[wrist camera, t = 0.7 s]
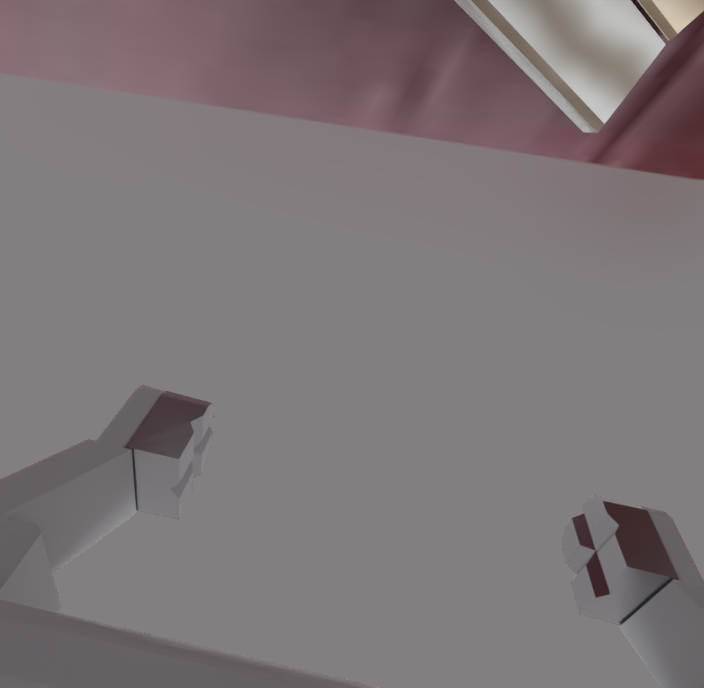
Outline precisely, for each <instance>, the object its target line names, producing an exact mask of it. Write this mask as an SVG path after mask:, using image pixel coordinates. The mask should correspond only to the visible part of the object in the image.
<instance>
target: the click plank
mask: <svg viewBox="0 0 704 688" xmlns="http://www.w3.org/2000/svg"><path fill="white" fill-rule="evenodd" d="M454 1H455V2H456V3H457V4H458V5H459V6H460V7H461V8H462V9H463V10H464V11H465V12H466V13H467V14H468V15H469V16H470V17H471V18H472V19H473V20H474V21H475V22H476V23H477V24H478V25H479V26H480V27H481V28H482V29H483V30H484V31H485V32H486V33H487V34H488V35H489V37H490V38H491V39H492V40H493V41H494V42H495V43H496V44H497V45H498V46H499V47H500V48H501V49H502V50H503V51H504V52H505V53H506V54H507V55H508V56H509V57H510V58H511V59H512V60H513V61H514V62H515V63H516V64H517V65H518V66H519V67H520V68H521V69H522V70H523V71H524V72H525V73H526V74H527V75H528V76H529V77H530V78H531V79H532V80H533V81H534V82H535V84H536V85H537V86H538V87H539V88H540V89H541V90H542V91H543V92H544V93H545V94H546V95H547V96H548V97H549V98H550V99H551V100H552V101H553V102H554V103H555V104H556V105H557V106H558V107H559V108H560V109H561V110H562V111H563V112H564V113H565V114H566V115H567V116H568V117H569V118H570V119H571V120H572V121H573V122H574V123H575V124H576V125H577V126H578V127H579V128H580V130H581V131H582V132H594V133H598V132H599V131H600V130H601V128H602V127H603V126H604V124H605V123H606V122H607V120H608V119H609V118H610V116H611V115H612V114H613V112H614V111H615V110H616V109H617V107H618V106H619V105H620V103H621V102H622V101H623V100H624V98H625V97H626V96H627V94H628V93H629V92H630V90H631V89H632V88H633V87H634V85H635V84H636V83H637V81H638V80H639V79H640V77H641V76H642V75H643V74H644V72H645V71H646V70H647V68H648V67H649V66H650V64H651V63H652V62H653V61H654V59H655V58H656V57H657V55H658V54H659V53H660V51H661V50H662V49H663V48H664V46H665V45H666V44H665V43H664V42H663V41H662V39H661V38H660V37H659V35H658V34H657V33H656V32H655V30H654V29H653V28H652V27H651V25H650V24H649V23H648V21H647V20H646V19H645V18H644V16H643V15H642V14H641V13H640V11H639V10H638V9H637V8H636V6H635V5H634V4H633V2H632V1H631V0H454Z"/></svg>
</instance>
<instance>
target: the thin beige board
mask: <svg viewBox="0 0 704 688" xmlns="http://www.w3.org/2000/svg"><path fill="white" fill-rule="evenodd" d="M636 1H637V2H638V4H639V5H640V6H641V7H642V9H643V10H644V11H645V13H646V14H647V15H648V16H649V18H650V19H651V20H652V21H653V23H654V24H655V25H656V27H657V28H658V29H659V30H660V32H661V33H662V34H663V35H664V36H665V37H666V38H667V39H668V40H669V41H670V40H672V39H673V38H674V37H675V36H676V35H677V34H678V33H679V32H680V31H681V30H682V29H683V28H684V27H686V26H687V25H688V24H689V23H690V22H691V21H692V20H694V19H695V18H696V17H697V16H698V15H699V14H700V13H702V12H703V11H704V0H636Z"/></svg>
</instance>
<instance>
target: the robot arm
mask: <svg viewBox="0 0 704 688" xmlns="http://www.w3.org/2000/svg"><path fill="white" fill-rule="evenodd" d="M213 418H214V405H213V404H212V403H210V402H206V401H202V400H198V399H194V398H191V397H187V396H183V395H180V394H176V393H172V392H169V391H163V390H159V389H156V388H152V387H148V386H145V385H142V386H140V387H139V388H137V389H136V390H135V391H134V392H133V393H132V395H131V396H130V397H129V398H128V400H127V401H126V402H125V404H124V405H123V406H122V407H121V409H120V410H119V411H118V413H117V414H116V415H115V417H114V418H113V419H112V421H111V422H110V423H109V424H108V426H107V427H106V428H105V429H104V431H103V432H102V433H101V435H100V436H99V437H98V439H97V440H96V441H95V440H90V439H88V440H85V441H83V442H81V443H79V444H77V445H74V446H72V447H70V448H68V449H66V450H63V451H61V452H59V453H57V454H55V455H53V456H50V457H48V458H46V459H44V460H42V461H39V462H37V463H35V464H33V465H31V466H28V467H26V468H24V469H22V470H20V471H18V472H16V473H13V474H11V475H9V476H7V477H5V478H2V479H0V688H379V687H375V686H371V685H367V684H363V683H358V682H354V681H350V680H345V679H341V678H337V677H332V676H328V675H323V674H319V673H315V672H311V671H307V670H302V669H298V668H293V667H289V666H285V665H281V664H276V663H272V662H267V661H263V660H259V659H255V658H251V657H246V656H242V655H238V654H233V653H229V652H225V651H220V650H216V649H212V648H207V647H203V646H198V645H194V644H190V643H186V642H181V641H177V640H173V639H168V638H164V637H160V636H156V635H151V634H146V633H142V632H138V631H134V630H130V629H125V628H121V627H116V626H112V625H108V624H103V623H99V622H95V621H90V620H86V619H82V618H78V617H73V616H69V615H65V614H61V613H58V611H59V609H60V608H61V604H60V600H59V596H58V592H57V589H56V586H55V582H54V578H53V573H55V572H56V571H57V570H59V569H60V568H61V567H63V566H64V565H66V564H67V563H68V562H70V561H71V560H73V559H74V558H75V557H77V556H78V555H79V554H81V553H82V552H84V551H85V550H86V549H88V548H89V547H90V546H92V545H93V544H95V543H96V542H97V541H99V540H100V539H101V538H103V537H104V536H106V535H107V534H108V533H110V532H111V531H113V530H114V529H115V528H117V527H118V526H119V525H121V524H122V523H124V522H125V521H126V520H128V519H129V518H130V517H132V516H133V515H135V514H136V511H141V512H146V513H151V514H156V515H161V516H166V517H170V518H175V519H179V518H180V516H181V514H182V512H183V510H184V508H185V506H186V504H187V502H188V500H189V498H190V496H191V493H192V485H193V479H194V478H196V477H197V476H199V475H201V473H202V471H203V469H204V466H205V464H206V462H207V459H208V455H209V453H210V449H211V444H212V438H213V431H212V429H211V428H210V427H209V425H210V423H211V421H212V420H213ZM582 507H583V511H584V514H582V515H579V516H576V517H574V518H572V519H571V520H570V522H569V523H568V525H567V526H566V527H565V531H564V535H563V540H562V545H563V553H564V557H565V562H566V563H567V564H568V565H569V567H570V568H571V569H572V570H573V571H574V573H575V575H574V577H573V579H572V581H571V585H572V588H573V592H574V596H575V600H576V603H577V607H578V611H579V614H580V615H584V616H588V617H591V618H595V619H599V620H603V621H607V622H610V623H614V624H618V625H621V626H620V627H619V628H620V629H621V630H622V632H623V633H624V634H625V636H626V638H627V639H628V640H629V642H630V643H631V645H632V646H633V647H634V649H635V651H636V652H637V653H638V655H639V656H640V658H641V659H642V661H643V662H644V663H645V665H646V666H647V668H648V669H649V670H650V672H651V673H652V675H653V676H654V678H655V679H656V680H657V682H658V683H659V685H660V686H661V688H704V581H703V579H702V577H701V575H700V573H699V571H698V569H697V567H696V565H695V563H694V561H693V559H692V557H691V555H690V553H689V551H688V549H687V547H686V545H685V543H684V541H683V539H682V537H681V535H680V533H679V531H678V529H677V527H676V525H675V523H674V521H673V519H672V518H671V517H670V516H669V515H668V514H667V513H666V512H663V511H659V510H655V509H650V508H646V507H640V506H638V505H633V504H629V503H625V502H621V501H616V500H612V499H607V498H603V497H599V496H593V497H590V498H588V499H587V500H586V502H585V503H584V504H583V505H582Z"/></svg>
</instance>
